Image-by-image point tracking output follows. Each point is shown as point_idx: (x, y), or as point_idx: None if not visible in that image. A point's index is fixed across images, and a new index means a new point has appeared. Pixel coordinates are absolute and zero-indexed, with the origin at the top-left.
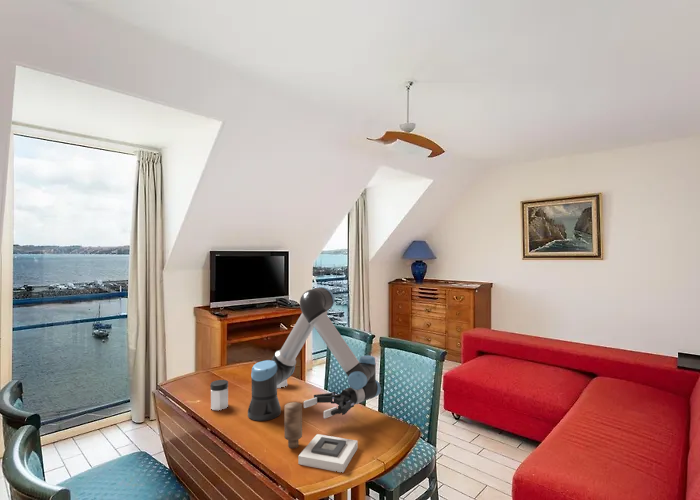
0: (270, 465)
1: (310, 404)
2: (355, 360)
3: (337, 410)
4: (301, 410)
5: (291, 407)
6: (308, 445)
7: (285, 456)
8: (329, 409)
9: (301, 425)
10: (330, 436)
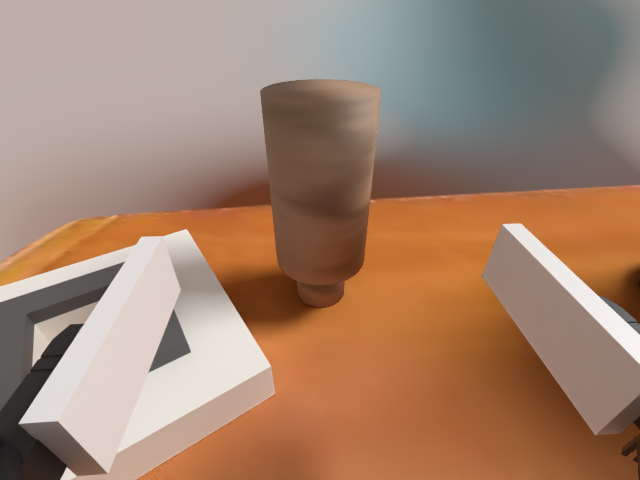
0: (262, 211)
1: (528, 318)
2: None
3: (7, 407)
4: (272, 129)
5: (303, 85)
6: (210, 278)
7: (272, 247)
8: (118, 291)
9: (279, 220)
10: (163, 423)
